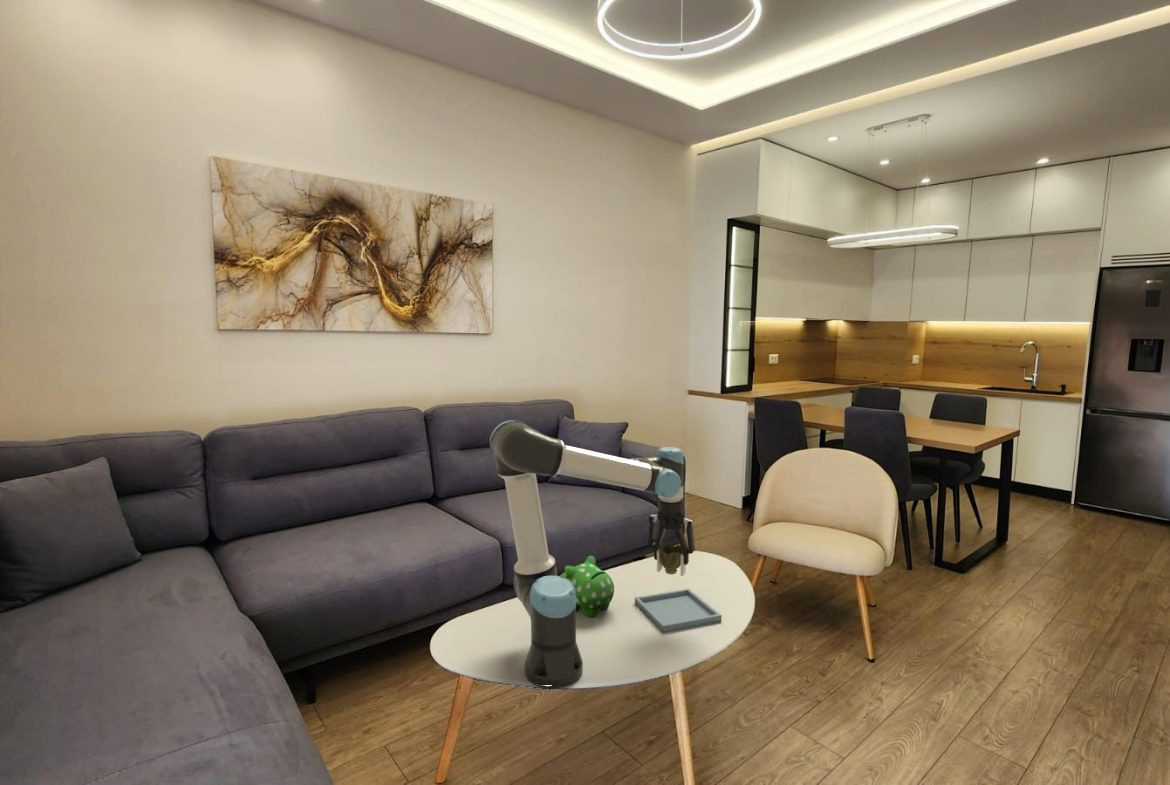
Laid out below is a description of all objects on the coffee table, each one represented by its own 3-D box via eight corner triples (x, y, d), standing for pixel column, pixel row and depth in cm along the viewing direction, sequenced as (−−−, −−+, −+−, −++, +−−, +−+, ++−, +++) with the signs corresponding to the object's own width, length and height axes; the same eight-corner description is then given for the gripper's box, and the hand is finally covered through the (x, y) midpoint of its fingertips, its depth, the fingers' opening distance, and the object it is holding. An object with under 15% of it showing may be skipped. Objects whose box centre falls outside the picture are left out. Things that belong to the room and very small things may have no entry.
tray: (663, 632, 170) (663, 626, 170) (634, 603, 189) (634, 597, 188) (721, 621, 177) (721, 615, 176) (688, 594, 195) (688, 588, 195)
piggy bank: (580, 593, 196) (580, 550, 195) (622, 609, 185) (622, 564, 183) (551, 607, 186) (550, 563, 184) (594, 626, 174) (594, 578, 173)
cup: (655, 574, 175) (654, 549, 174) (664, 566, 181) (663, 541, 180) (678, 579, 171) (678, 553, 170) (686, 570, 177) (686, 545, 177)
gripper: (706, 499, 173) (706, 572, 175) (644, 492, 182) (645, 562, 184) (699, 505, 166) (699, 582, 168) (635, 498, 175) (636, 571, 177)
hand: (671, 571), depth 176 cm, fingers closed on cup, 7 cm apart
